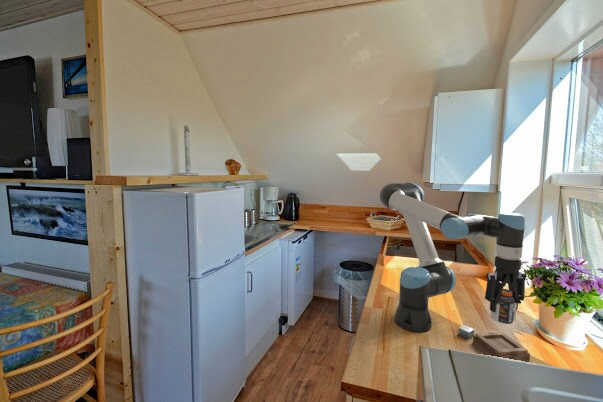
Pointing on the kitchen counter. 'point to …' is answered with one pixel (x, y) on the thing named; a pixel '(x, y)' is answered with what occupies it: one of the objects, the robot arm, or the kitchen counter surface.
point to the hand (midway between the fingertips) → (502, 319)
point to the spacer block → (466, 331)
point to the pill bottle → (506, 307)
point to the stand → (500, 346)
